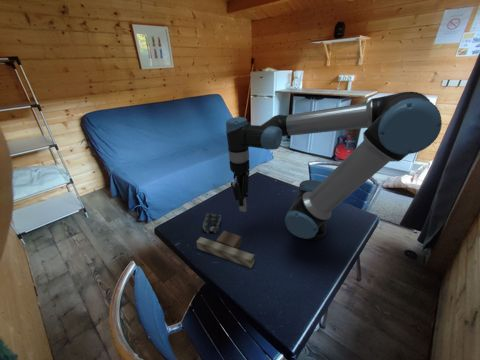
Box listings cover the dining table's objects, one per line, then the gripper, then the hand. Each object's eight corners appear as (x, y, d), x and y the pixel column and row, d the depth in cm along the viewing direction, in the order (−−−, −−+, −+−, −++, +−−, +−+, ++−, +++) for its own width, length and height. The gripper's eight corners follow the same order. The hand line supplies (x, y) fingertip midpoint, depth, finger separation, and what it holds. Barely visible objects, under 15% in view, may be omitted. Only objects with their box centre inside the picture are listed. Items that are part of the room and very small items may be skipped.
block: (241, 245, 94) (240, 236, 91) (234, 255, 89) (233, 246, 87) (224, 239, 97) (223, 230, 95) (217, 248, 93) (216, 239, 90)
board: (254, 262, 86) (254, 254, 84) (251, 268, 83) (251, 260, 82) (201, 243, 95) (200, 236, 93) (197, 248, 93) (196, 241, 91)
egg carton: (218, 234, 100) (217, 227, 98) (202, 233, 101) (201, 226, 99) (222, 218, 109) (221, 212, 107) (207, 218, 110) (206, 211, 108)
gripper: (237, 152, 92) (241, 200, 103) (222, 165, 82) (228, 217, 93) (254, 154, 89) (256, 203, 100) (241, 168, 79) (245, 221, 90)
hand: (243, 210), depth 96 cm, fingers closed
